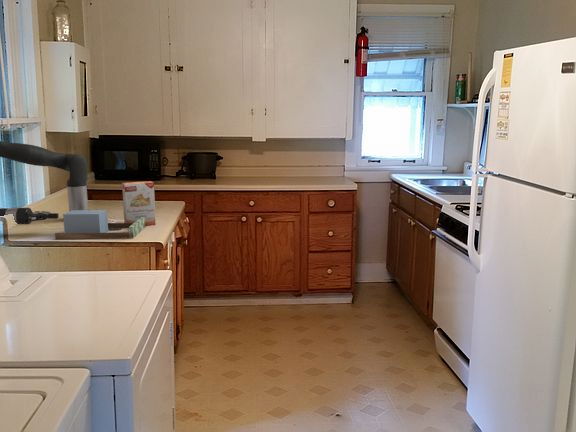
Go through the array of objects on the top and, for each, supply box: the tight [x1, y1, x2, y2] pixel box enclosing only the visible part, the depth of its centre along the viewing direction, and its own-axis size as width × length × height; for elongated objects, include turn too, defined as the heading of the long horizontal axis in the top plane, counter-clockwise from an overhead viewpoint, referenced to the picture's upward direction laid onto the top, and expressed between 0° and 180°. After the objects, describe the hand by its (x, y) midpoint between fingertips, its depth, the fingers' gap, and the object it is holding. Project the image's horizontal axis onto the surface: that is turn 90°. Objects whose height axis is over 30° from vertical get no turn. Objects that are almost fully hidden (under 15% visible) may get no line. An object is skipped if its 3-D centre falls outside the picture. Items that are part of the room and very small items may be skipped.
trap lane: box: [54, 217, 146, 240], centre depth 251 cm, size 22×34×5 cm, turn 91°
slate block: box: [62, 209, 109, 233], centre depth 250 cm, size 10×16×10 cm, turn 88°
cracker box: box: [121, 180, 157, 227], centre depth 266 cm, size 14×6×21 cm, turn 117°
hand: (57, 215), depth 249 cm, fingers closed
